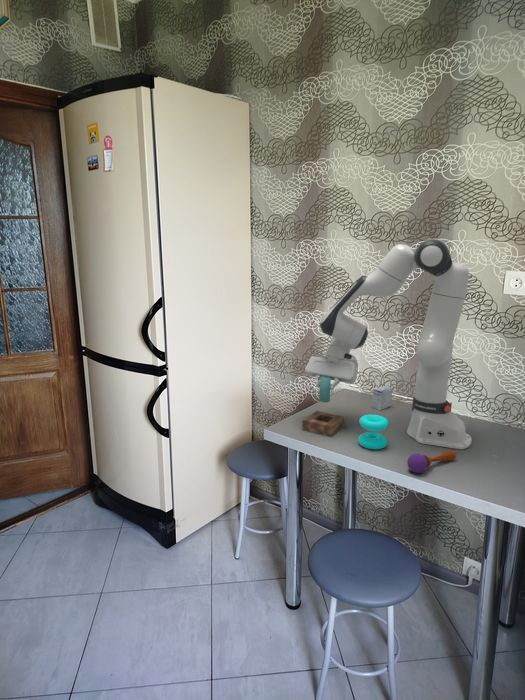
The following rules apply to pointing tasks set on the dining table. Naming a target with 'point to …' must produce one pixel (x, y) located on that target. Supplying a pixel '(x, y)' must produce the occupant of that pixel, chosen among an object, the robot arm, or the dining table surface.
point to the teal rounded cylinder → (324, 389)
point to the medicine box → (382, 397)
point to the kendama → (427, 460)
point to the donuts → (372, 438)
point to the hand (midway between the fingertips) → (324, 388)
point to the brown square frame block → (323, 423)
